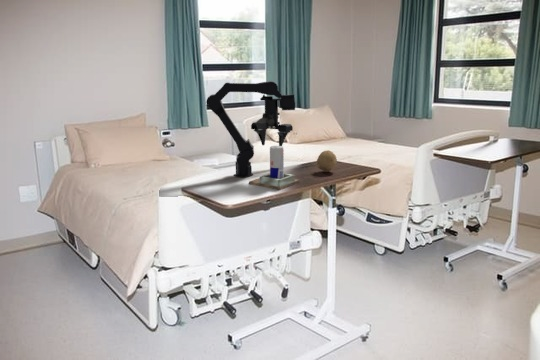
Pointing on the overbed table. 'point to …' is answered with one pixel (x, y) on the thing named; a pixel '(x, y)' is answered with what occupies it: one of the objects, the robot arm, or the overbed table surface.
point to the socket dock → (275, 181)
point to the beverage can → (276, 162)
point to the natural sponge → (326, 161)
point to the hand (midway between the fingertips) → (271, 146)
